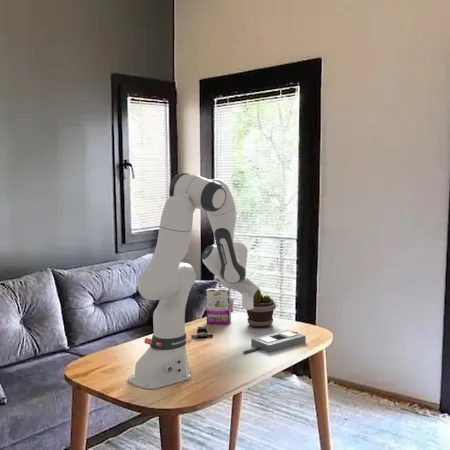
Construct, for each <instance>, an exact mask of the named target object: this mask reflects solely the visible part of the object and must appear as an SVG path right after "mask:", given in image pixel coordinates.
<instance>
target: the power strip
mask: <svg viewBox="0 0 450 450" xmlns="http://www.w3.org/2000/svg"><path fill="white" fill-rule="evenodd" d="M306 338H307V337H306V335H305V334H302V333H300V332H299V331H296V330H289V329H285V330H280V331H276V332H273V333H269V334H264V335H261V336H257V337H253V338H251V341H250V342H251V347H253V348H250V349H246V350H244V351H243V352H242V353H243V354H248V353H252V352H256V351H259V350H260V351H264V352H266V353H269V354H270V353H272V352H277V351H280V350H284V349H288V348H291V347H295V346H298V345H302V344H306V342H307V341H306Z"/></svg>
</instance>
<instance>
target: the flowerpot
mask: <svg viewBox="0 0 450 450" xmlns="http://www.w3.org/2000/svg"><path fill="white" fill-rule="evenodd" d="M256 286H257V287H258V290H257V291H256V293H255V294H254V296H253V309H250V310H247V309H245V311H246V313H247V317H248V318H247V319H246V320H247V323H248V325H249V326H250V327H252V328H257V329H266V327H267V328H269V327H271V326H272V324H273V322H274V318H273V316H274V311H275V310H276V309H277V304H276V302H274V301H275V300H274V299H273V298H271V296H270V295H268V294H267V295H264V294H262V289H261V288H260V287H259V286H258V285H256ZM264 327H265V328H264Z"/></svg>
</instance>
